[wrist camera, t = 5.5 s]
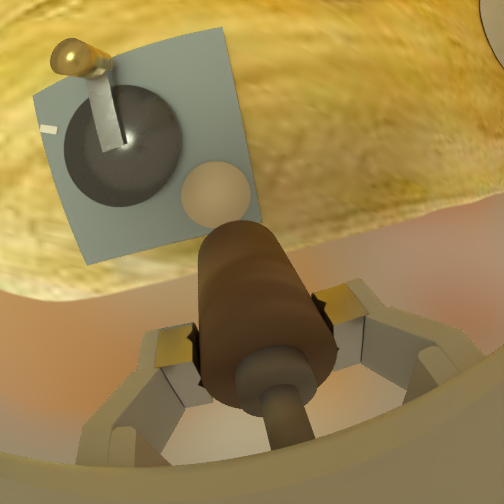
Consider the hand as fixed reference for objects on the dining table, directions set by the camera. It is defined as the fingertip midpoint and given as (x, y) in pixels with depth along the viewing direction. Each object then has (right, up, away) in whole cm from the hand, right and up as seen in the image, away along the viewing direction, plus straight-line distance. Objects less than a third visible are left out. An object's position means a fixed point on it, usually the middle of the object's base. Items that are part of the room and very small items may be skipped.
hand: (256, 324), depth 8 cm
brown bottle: (-1, +2, +4) cm, 4 cm away
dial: (-11, +13, +13) cm, 21 cm away
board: (-10, +11, +16) cm, 22 cm away
